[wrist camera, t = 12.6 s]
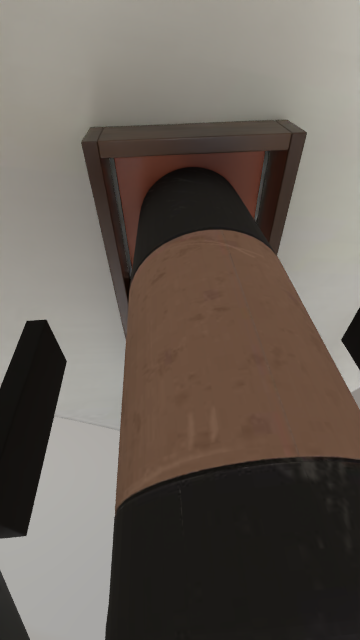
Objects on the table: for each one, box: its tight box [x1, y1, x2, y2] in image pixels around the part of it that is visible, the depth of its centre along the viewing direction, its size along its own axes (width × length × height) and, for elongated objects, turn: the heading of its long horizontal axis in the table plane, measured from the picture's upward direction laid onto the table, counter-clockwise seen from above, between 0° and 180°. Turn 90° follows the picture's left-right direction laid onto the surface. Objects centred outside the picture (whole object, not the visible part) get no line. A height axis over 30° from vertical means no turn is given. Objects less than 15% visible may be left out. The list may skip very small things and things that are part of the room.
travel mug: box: [105, 167, 360, 640], centre depth 14 cm, size 8×8×20 cm
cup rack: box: [81, 120, 307, 338], centre depth 23 cm, size 11×22×3 cm, turn 1°
